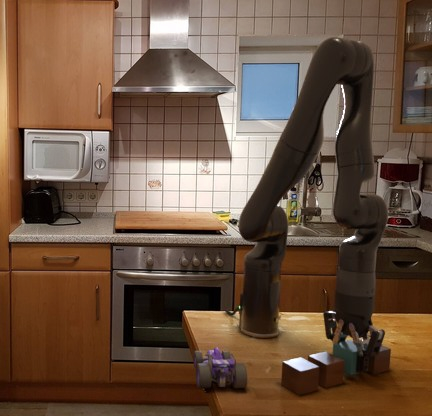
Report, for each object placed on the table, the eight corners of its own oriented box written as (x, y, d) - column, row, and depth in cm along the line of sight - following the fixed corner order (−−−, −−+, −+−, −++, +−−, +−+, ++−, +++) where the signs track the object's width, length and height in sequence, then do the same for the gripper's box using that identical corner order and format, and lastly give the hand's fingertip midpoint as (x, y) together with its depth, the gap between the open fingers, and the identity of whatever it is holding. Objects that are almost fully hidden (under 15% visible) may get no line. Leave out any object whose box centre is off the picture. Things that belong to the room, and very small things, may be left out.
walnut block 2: (306, 377, 110) (307, 355, 110) (324, 373, 112) (325, 351, 112) (325, 388, 106) (326, 364, 105) (343, 383, 108) (344, 360, 107)
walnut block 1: (281, 384, 107) (282, 361, 107) (299, 379, 109) (300, 357, 109) (299, 395, 103) (300, 371, 102) (318, 390, 105) (319, 366, 104)
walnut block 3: (353, 365, 116) (355, 344, 115) (369, 361, 118) (371, 340, 118) (373, 374, 112) (375, 352, 111) (389, 370, 114) (391, 348, 113)
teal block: (331, 365, 113) (333, 343, 112) (348, 361, 115) (349, 339, 114) (351, 375, 108) (352, 352, 108) (367, 370, 111) (369, 348, 110)
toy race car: (229, 360, 119) (230, 332, 118) (247, 392, 104) (248, 361, 103) (187, 360, 119) (188, 332, 118) (199, 392, 104) (200, 361, 103)
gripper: (315, 282, 114) (310, 357, 117) (372, 301, 101) (366, 384, 104) (339, 278, 117) (335, 351, 120) (398, 296, 104) (392, 377, 107)
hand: (349, 366), depth 112 cm, fingers closed on teal block, 5 cm apart
